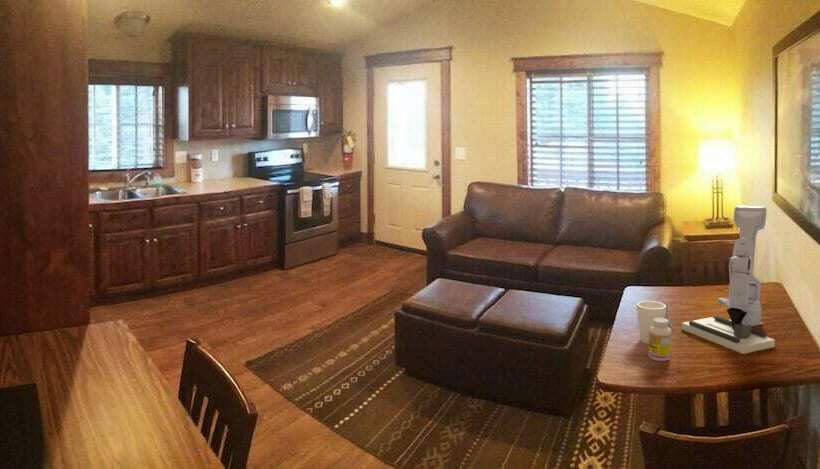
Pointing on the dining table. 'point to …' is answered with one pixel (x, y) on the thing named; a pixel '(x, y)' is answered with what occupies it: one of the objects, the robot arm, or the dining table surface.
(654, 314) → the foam cup
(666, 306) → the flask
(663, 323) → the supplement bottle
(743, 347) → the panel
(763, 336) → the dark grey guard rails
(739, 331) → the block
